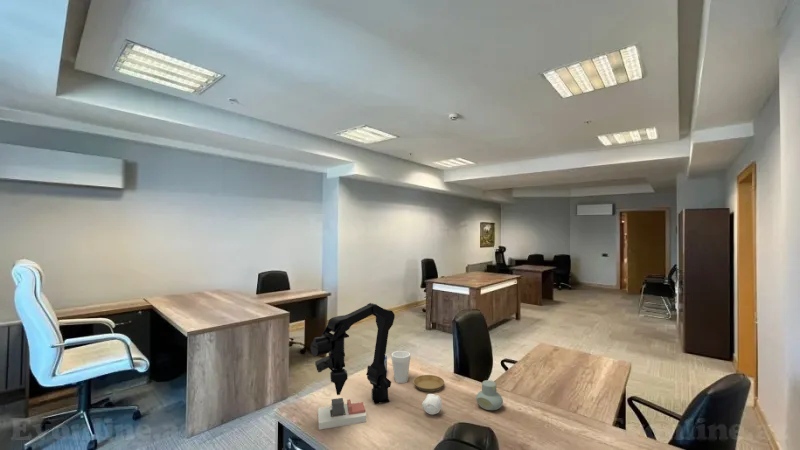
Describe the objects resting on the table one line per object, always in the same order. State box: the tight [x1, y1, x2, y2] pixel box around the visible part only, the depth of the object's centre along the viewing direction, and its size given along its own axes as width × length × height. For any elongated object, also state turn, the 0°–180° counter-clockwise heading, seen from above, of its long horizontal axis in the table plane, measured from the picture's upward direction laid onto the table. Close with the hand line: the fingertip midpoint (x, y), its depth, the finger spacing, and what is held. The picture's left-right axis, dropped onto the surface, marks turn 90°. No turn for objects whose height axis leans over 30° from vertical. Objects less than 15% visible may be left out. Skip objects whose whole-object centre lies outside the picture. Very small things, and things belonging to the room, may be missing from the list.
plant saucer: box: [412, 374, 445, 393], centre depth 161 cm, size 15×15×3 cm
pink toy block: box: [346, 398, 366, 414], centre depth 136 cm, size 6×6×3 cm
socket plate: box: [317, 401, 367, 430], centre depth 134 cm, size 18×11×2 cm, turn 105°
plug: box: [331, 397, 345, 417], centre depth 134 cm, size 4×4×7 cm
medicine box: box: [384, 354, 388, 373], centre depth 175 cm, size 8×4×9 cm, turn 169°
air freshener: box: [475, 379, 504, 411], centre depth 141 cm, size 11×8×10 cm
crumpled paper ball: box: [421, 393, 443, 415], centre depth 137 cm, size 8×8×8 cm
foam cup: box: [390, 350, 411, 384], centre depth 168 cm, size 10×9×13 cm
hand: (337, 389), depth 134 cm, fingers open, 9 cm apart
